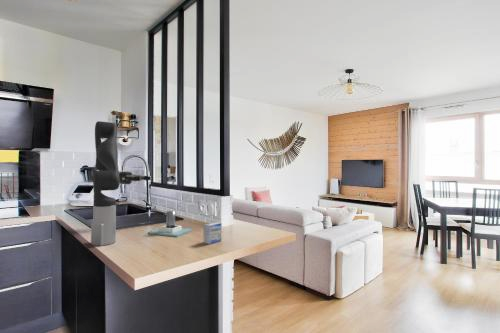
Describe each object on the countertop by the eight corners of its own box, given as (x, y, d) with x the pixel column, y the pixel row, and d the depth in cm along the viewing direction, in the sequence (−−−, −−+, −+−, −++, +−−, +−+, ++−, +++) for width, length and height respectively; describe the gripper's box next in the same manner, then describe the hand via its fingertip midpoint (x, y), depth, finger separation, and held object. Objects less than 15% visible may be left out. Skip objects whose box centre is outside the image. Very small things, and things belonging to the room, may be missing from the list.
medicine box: (209, 244, 128) (210, 225, 128) (203, 242, 131) (203, 224, 131) (221, 241, 134) (221, 223, 134) (214, 239, 137) (215, 221, 137)
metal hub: (171, 231, 147) (172, 212, 147) (164, 230, 148) (164, 211, 148) (176, 229, 151) (177, 211, 151) (169, 228, 152) (169, 210, 152)
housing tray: (177, 237, 140) (177, 231, 140) (147, 233, 146) (147, 228, 146) (191, 230, 153) (192, 225, 153) (164, 228, 159) (164, 222, 159)
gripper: (113, 171, 158) (136, 172, 153) (131, 171, 172) (153, 171, 166) (113, 184, 158) (136, 186, 153) (131, 183, 172) (153, 184, 166)
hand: (145, 178), depth 160 cm, fingers open, 8 cm apart
